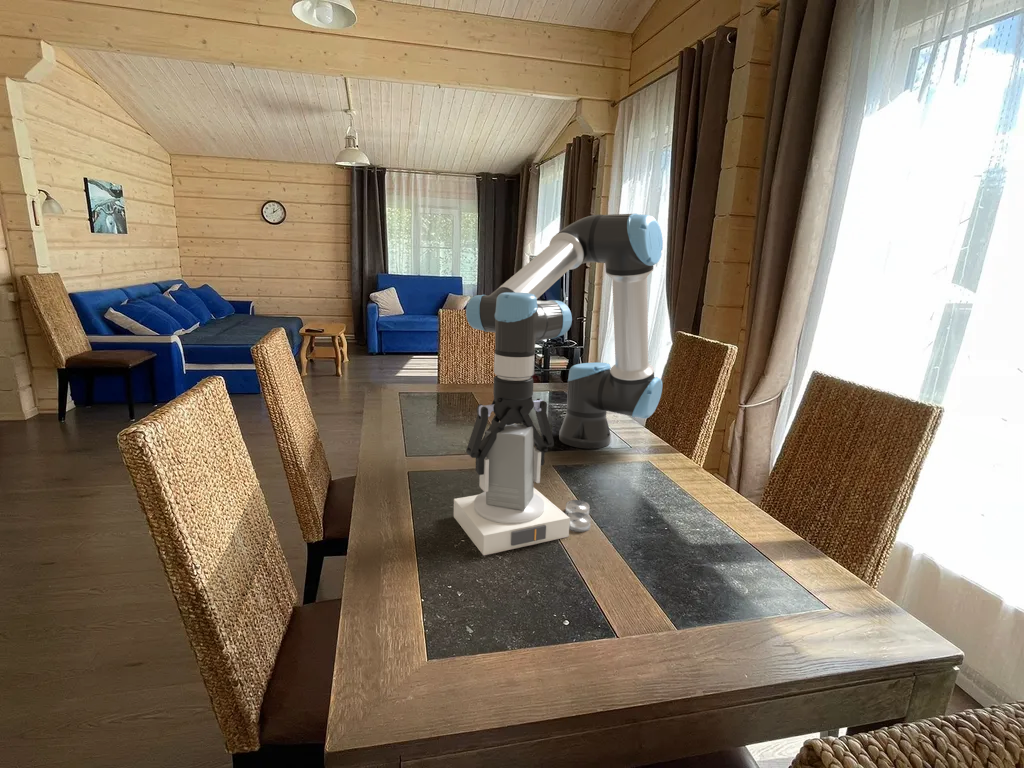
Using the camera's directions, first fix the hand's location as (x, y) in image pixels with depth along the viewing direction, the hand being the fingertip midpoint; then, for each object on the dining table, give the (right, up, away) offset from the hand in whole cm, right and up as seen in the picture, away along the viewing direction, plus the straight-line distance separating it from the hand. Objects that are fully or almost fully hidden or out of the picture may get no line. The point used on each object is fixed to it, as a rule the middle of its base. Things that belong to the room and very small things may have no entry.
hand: (510, 484), depth 108 cm
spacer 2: (+14, -9, +3) cm, 17 cm away
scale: (0, -9, +2) cm, 9 cm away
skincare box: (0, -4, +1) cm, 4 cm away
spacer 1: (+14, -8, +8) cm, 18 cm away
